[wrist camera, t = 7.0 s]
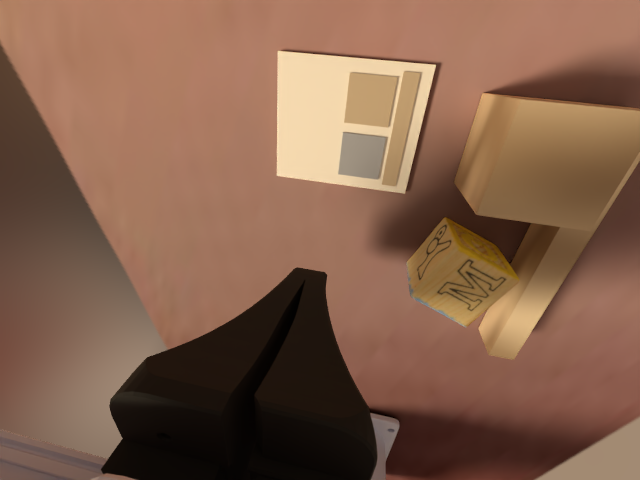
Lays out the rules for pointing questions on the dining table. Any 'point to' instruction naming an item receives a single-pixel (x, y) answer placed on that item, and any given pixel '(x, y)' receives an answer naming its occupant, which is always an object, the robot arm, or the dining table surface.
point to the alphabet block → (458, 273)
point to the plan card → (349, 119)
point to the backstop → (536, 280)
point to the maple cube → (546, 159)
